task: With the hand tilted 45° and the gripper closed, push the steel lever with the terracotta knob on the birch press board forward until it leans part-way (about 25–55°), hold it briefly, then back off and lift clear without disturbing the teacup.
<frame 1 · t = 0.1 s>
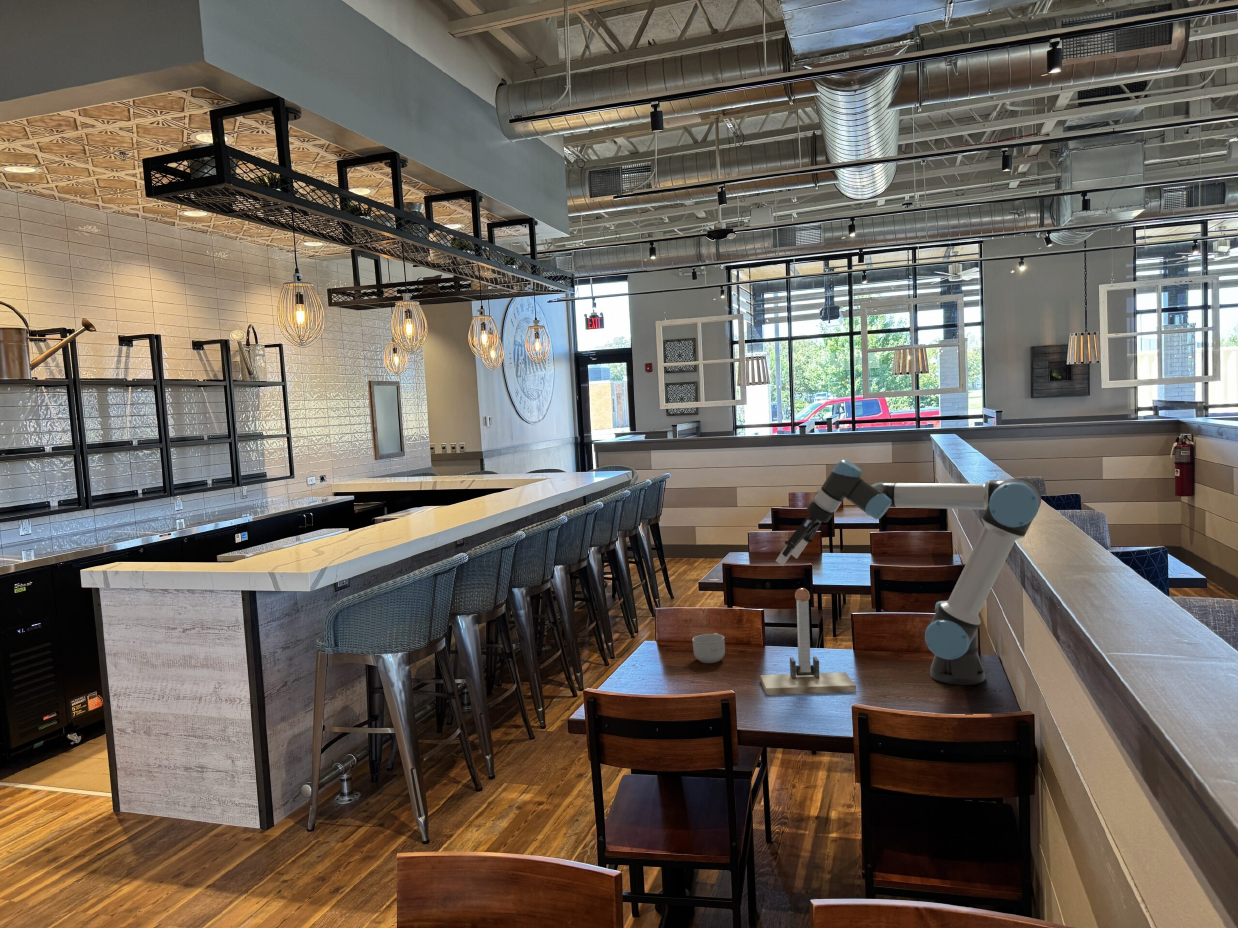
hand: (786, 559, 256), 36 cm above the table, tool tilted 35°, fingers open, 13 cm apart
press board: (806, 686, 242), on the table
teacup: (711, 659, 273), on the table
press lever: (803, 631, 245), point 16 cm above the table, hinge at 0.0°
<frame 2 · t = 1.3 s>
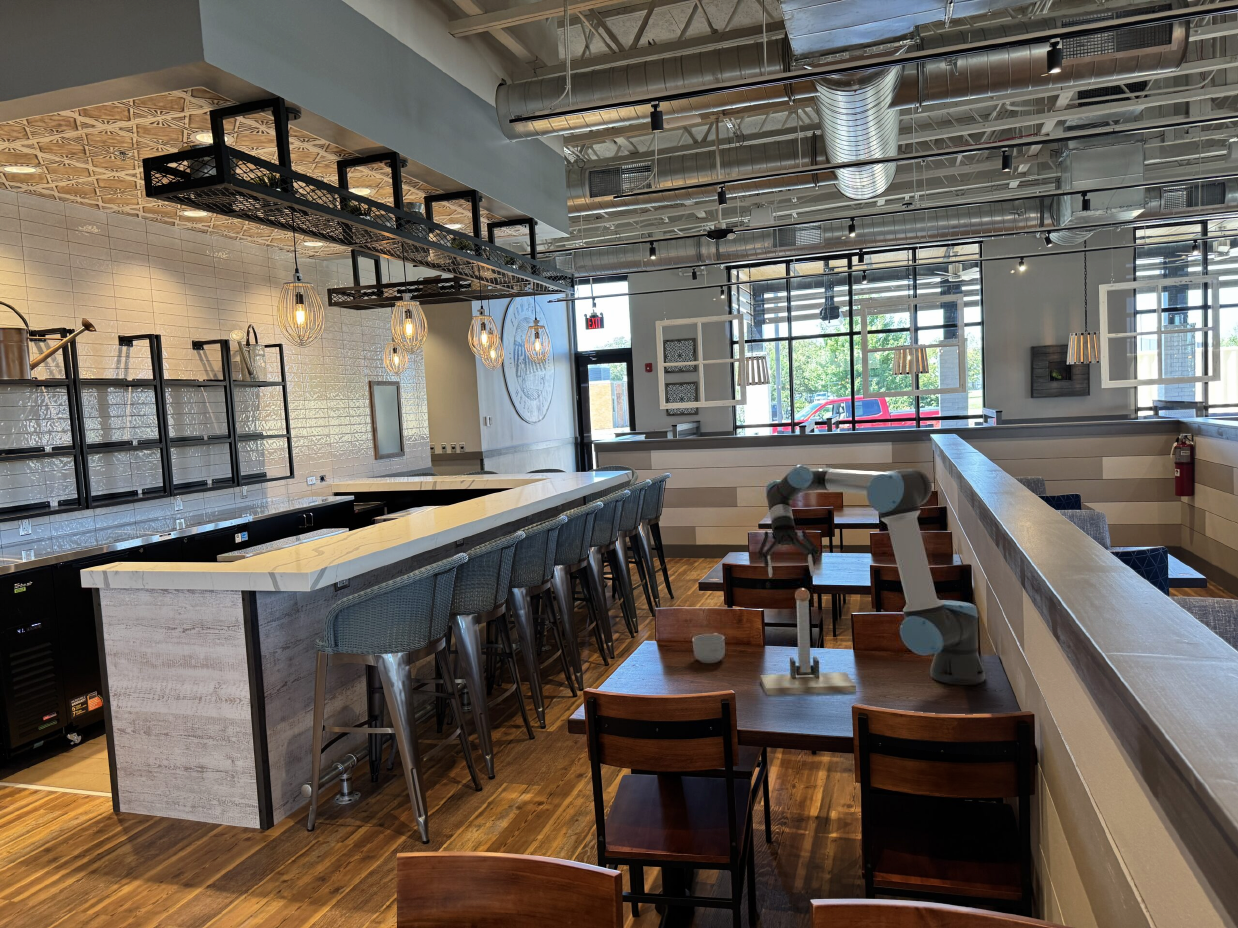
hand: (791, 574, 261), 30 cm above the table, tool tilted 45°, fingers open, 13 cm apart
nothing on the table moved.
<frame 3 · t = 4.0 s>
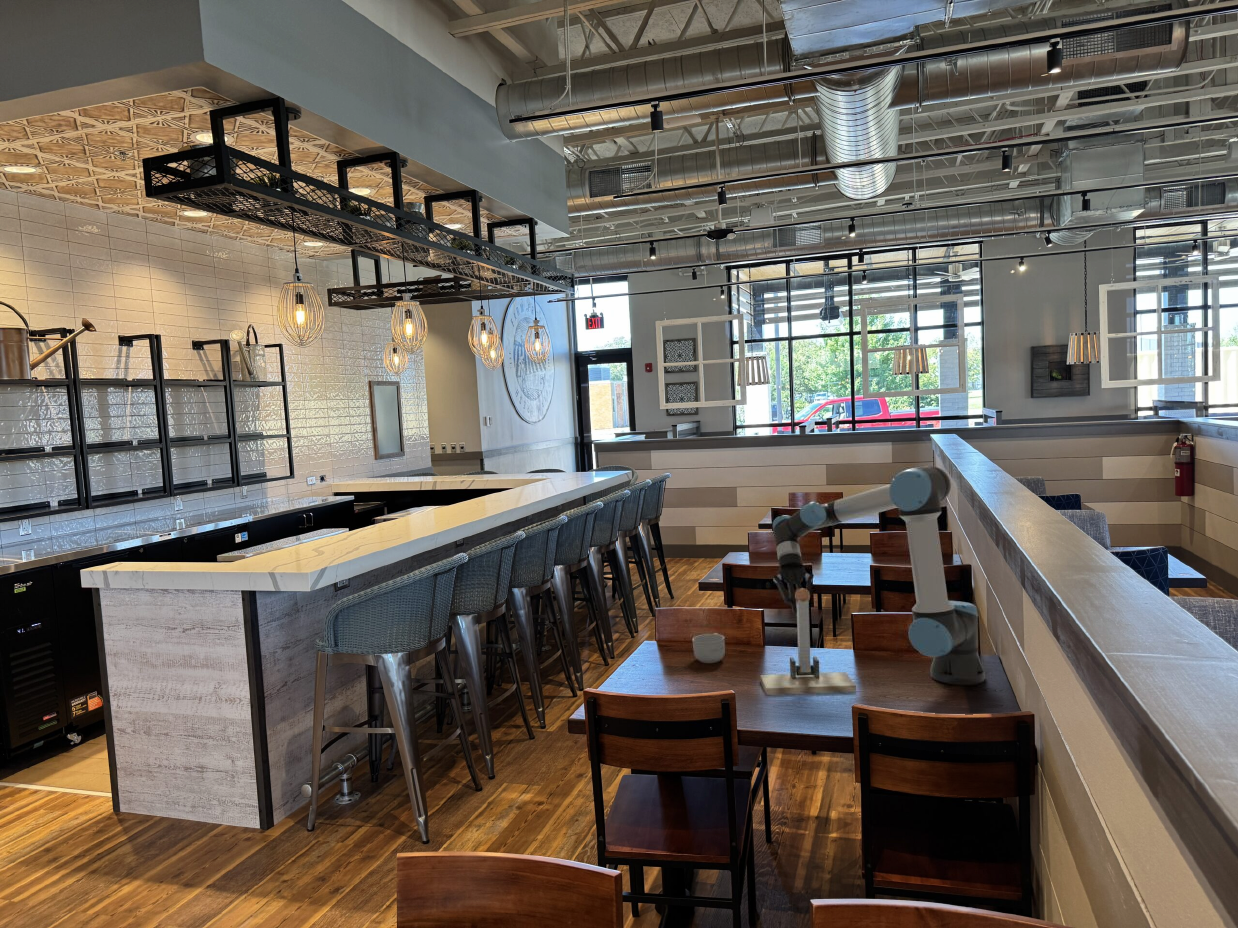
hand: (801, 622, 247), 18 cm above the table, tool tilted 45°, fingers closed
press lever: (803, 631, 245), point 16 cm above the table, hinge at 0.0°, touching gripper
everything else where it was.
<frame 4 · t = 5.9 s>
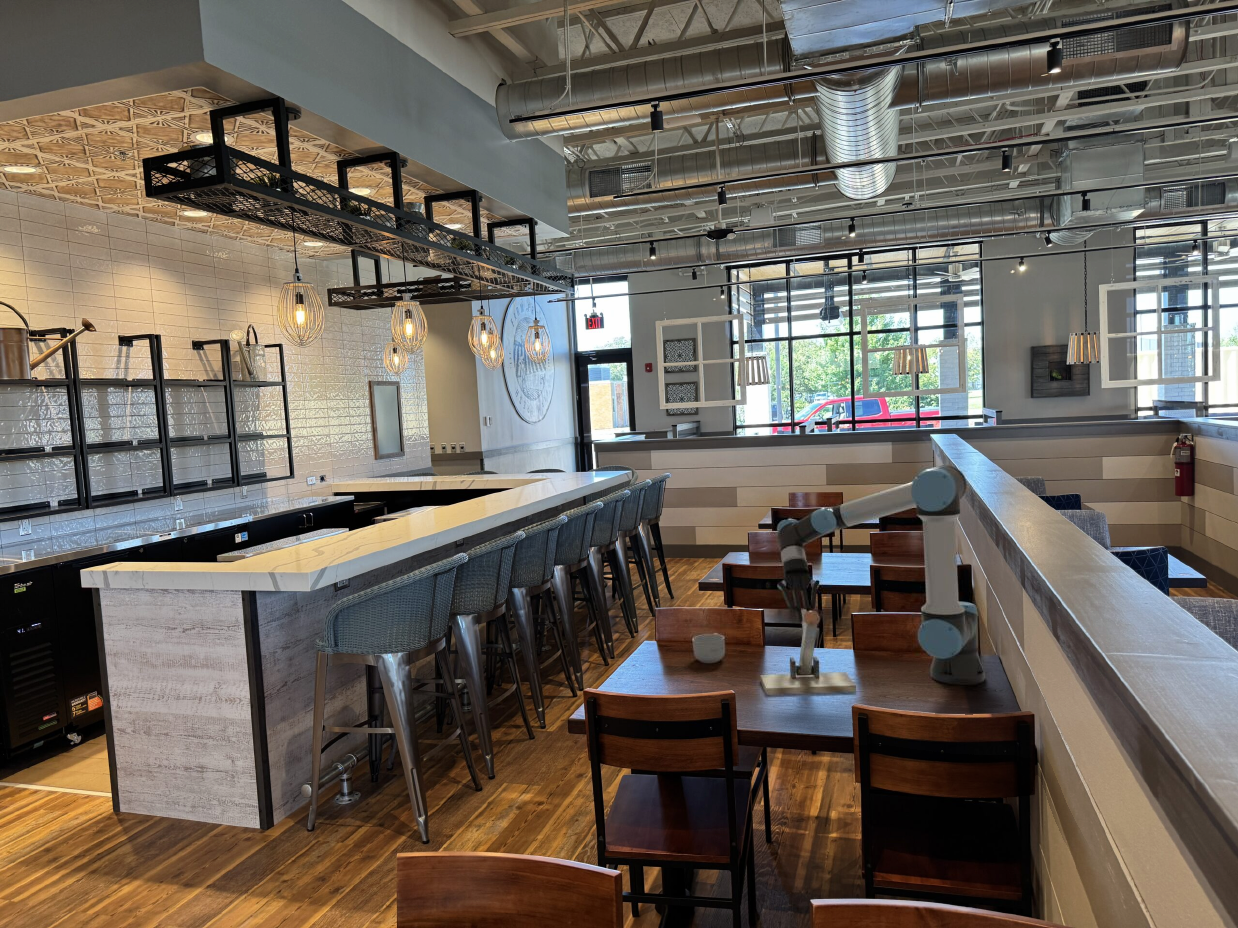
hand: (806, 630, 238), 18 cm above the table, tool tilted 45°, fingers closed
press lever: (808, 644, 238), point 14 cm above the table, hinge at 33.1°, touching gripper
everything else where it was.
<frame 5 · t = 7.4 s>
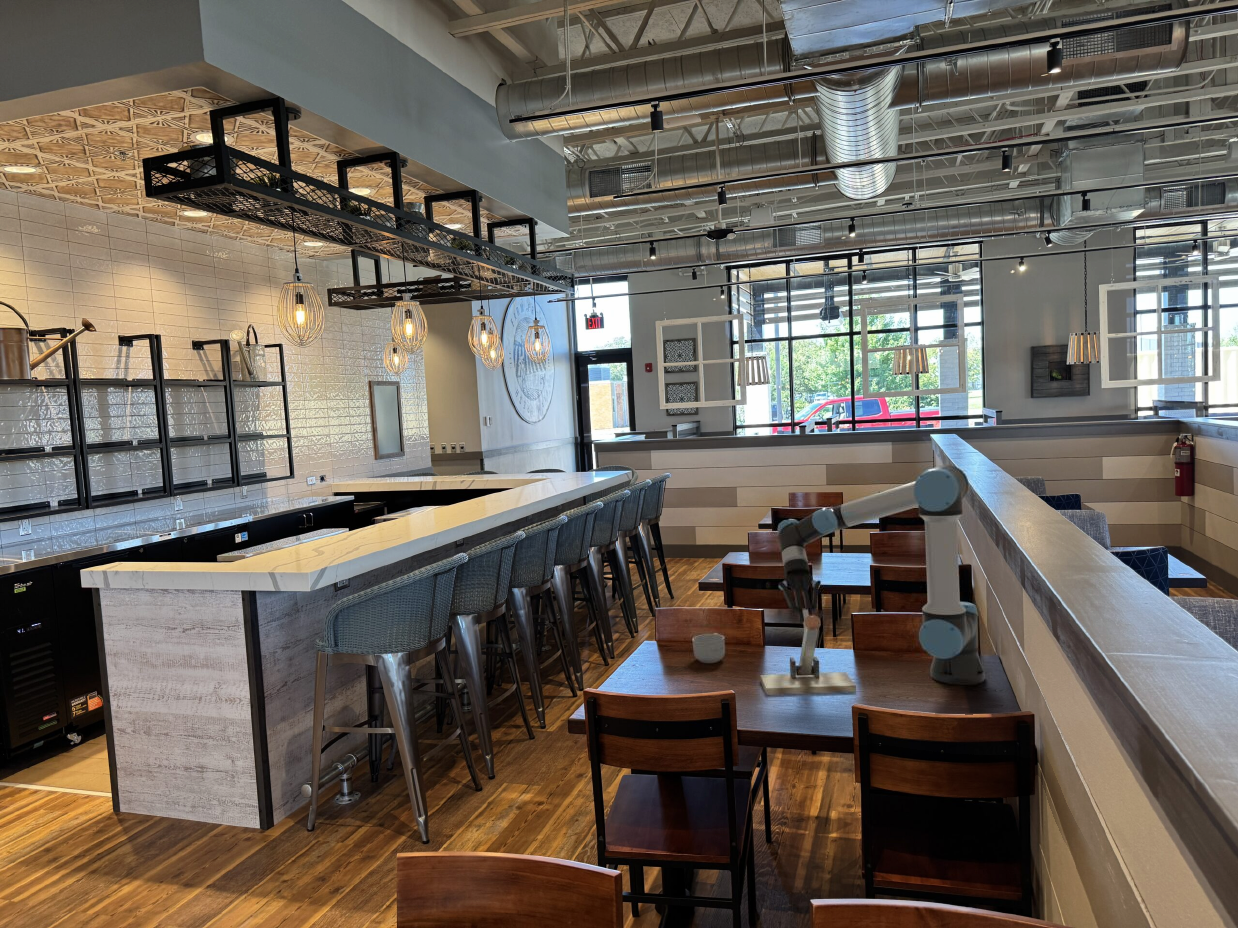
hand: (808, 631, 237), 18 cm above the table, tool tilted 45°, fingers closed
press lever: (808, 646, 237), point 13 cm above the table, hinge at 37.4°
everything else where it was.
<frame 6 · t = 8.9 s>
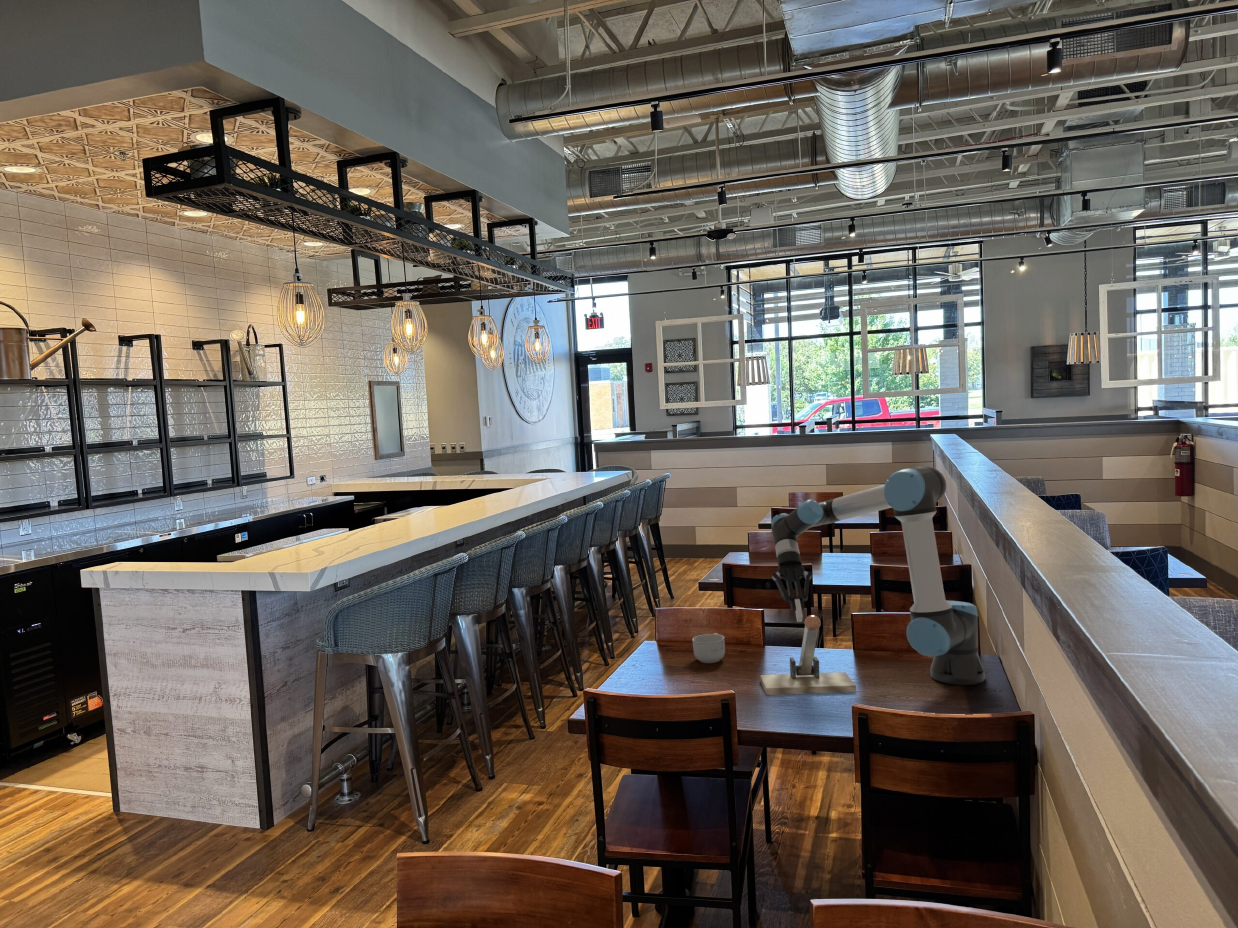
hand: (799, 619, 250), 18 cm above the table, tool tilted 45°, fingers closed
nothing on the table moved.
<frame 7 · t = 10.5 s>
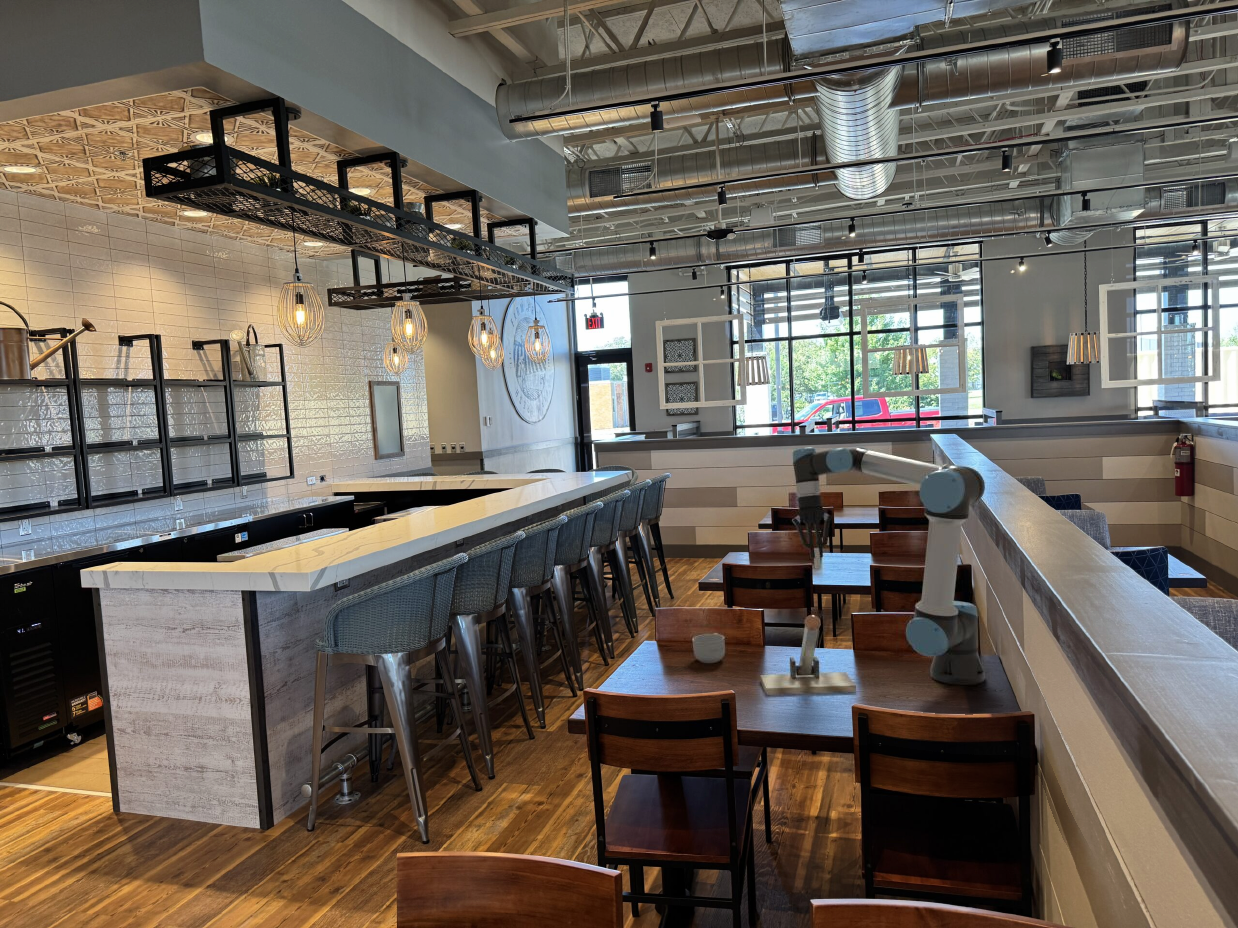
hand: (818, 568, 261), 32 cm above the table, tool pointing down, fingers closed
nothing on the table moved.
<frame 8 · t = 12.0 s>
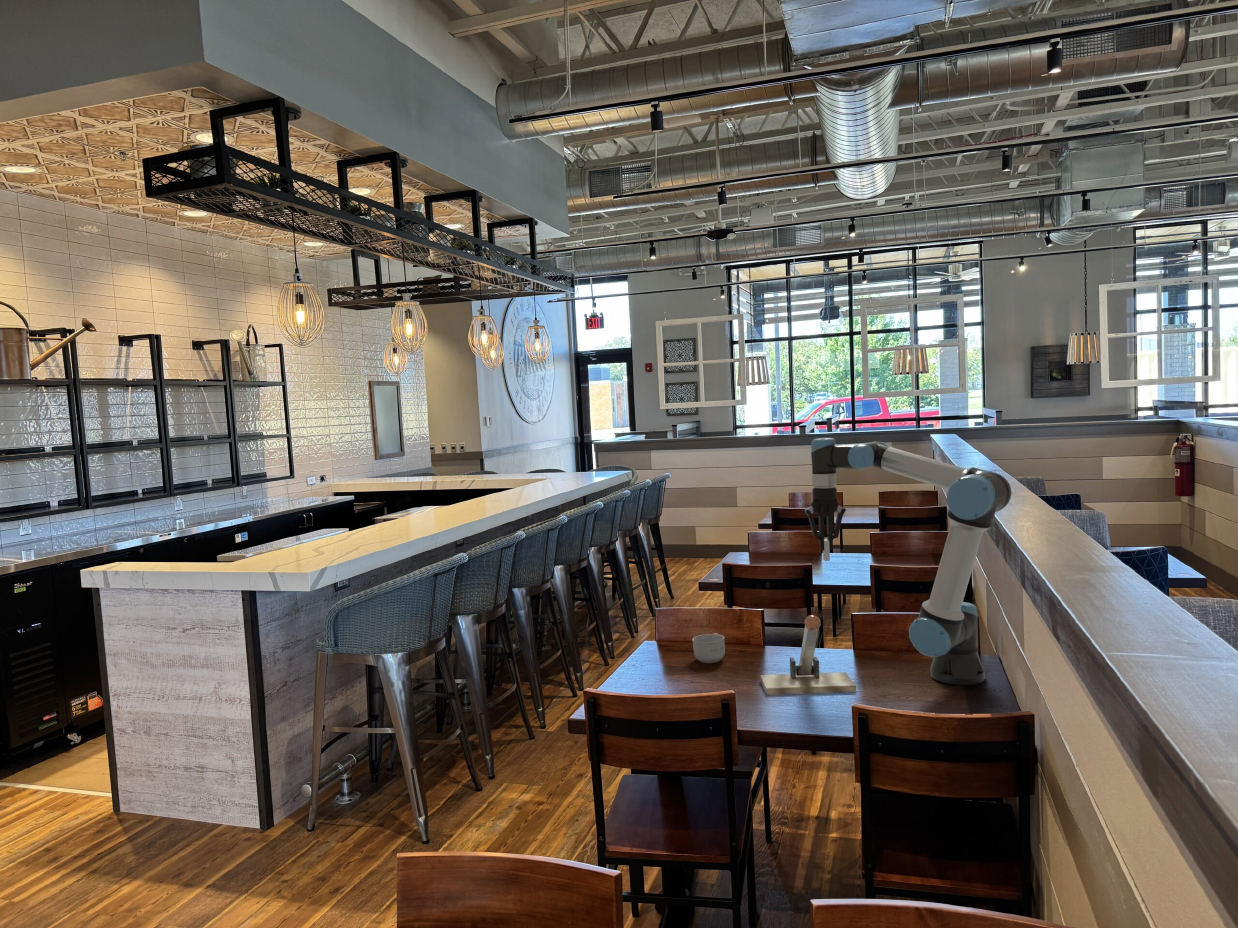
hand: (826, 560, 259), 34 cm above the table, tool pointing down, fingers closed
nothing on the table moved.
at the end: press lever at +37° (first picture: +0°); the gripper is holding nothing; teacup moved 0.3 cm from its start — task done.
